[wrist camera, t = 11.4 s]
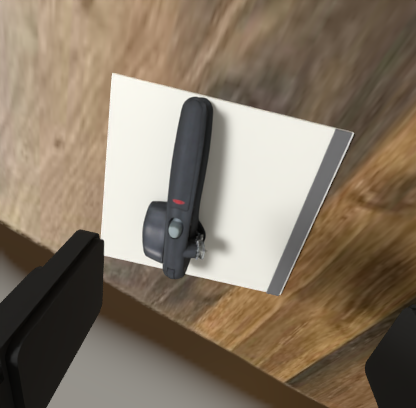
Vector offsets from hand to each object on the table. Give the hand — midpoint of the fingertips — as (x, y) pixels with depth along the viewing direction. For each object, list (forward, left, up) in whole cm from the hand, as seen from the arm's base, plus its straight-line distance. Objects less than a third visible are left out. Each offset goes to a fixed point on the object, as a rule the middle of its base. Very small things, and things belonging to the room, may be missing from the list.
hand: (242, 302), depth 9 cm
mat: (+1, +7, -21) cm, 22 cm away
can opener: (+4, +6, -21) cm, 22 cm away
